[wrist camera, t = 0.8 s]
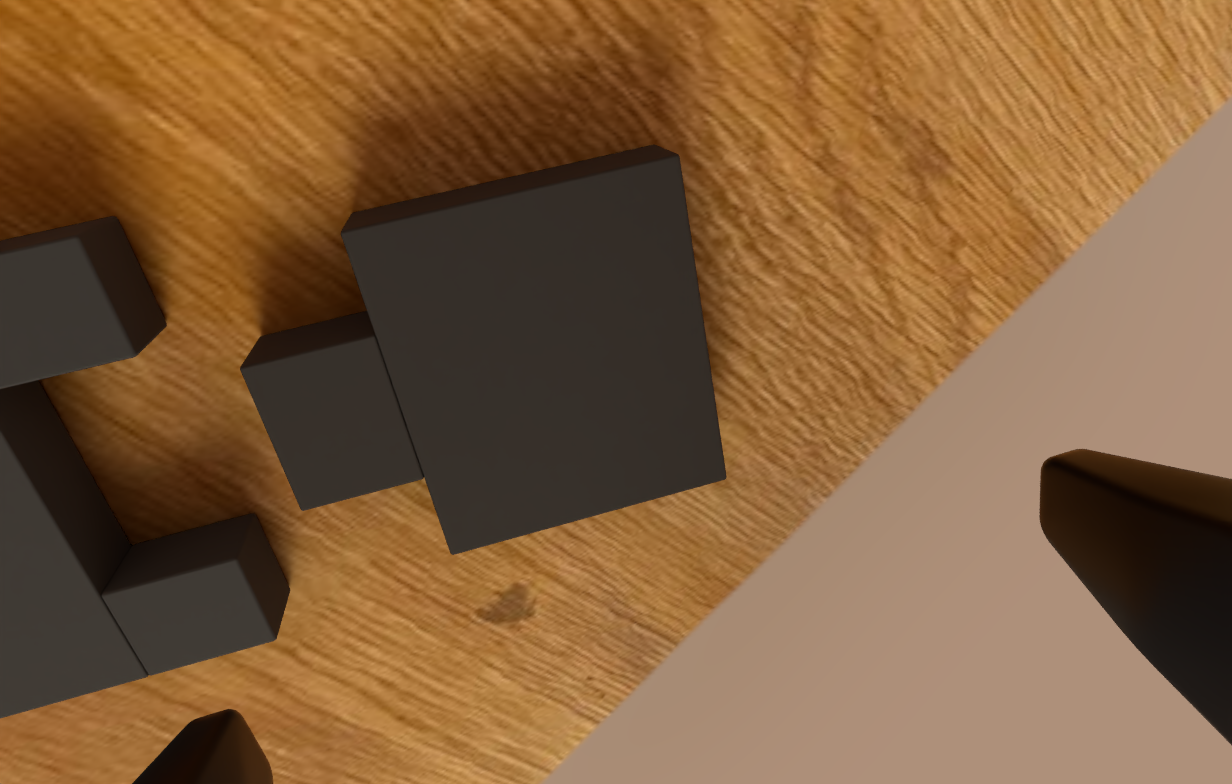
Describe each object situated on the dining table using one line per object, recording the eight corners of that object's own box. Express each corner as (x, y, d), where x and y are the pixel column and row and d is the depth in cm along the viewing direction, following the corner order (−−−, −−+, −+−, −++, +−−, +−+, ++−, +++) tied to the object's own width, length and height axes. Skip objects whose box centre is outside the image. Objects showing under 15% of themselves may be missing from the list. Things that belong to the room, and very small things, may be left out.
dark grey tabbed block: (703, 443, 21) (727, 479, 19) (343, 541, 20) (334, 589, 18) (655, 144, 18) (679, 153, 16) (220, 242, 17) (193, 264, 15)
